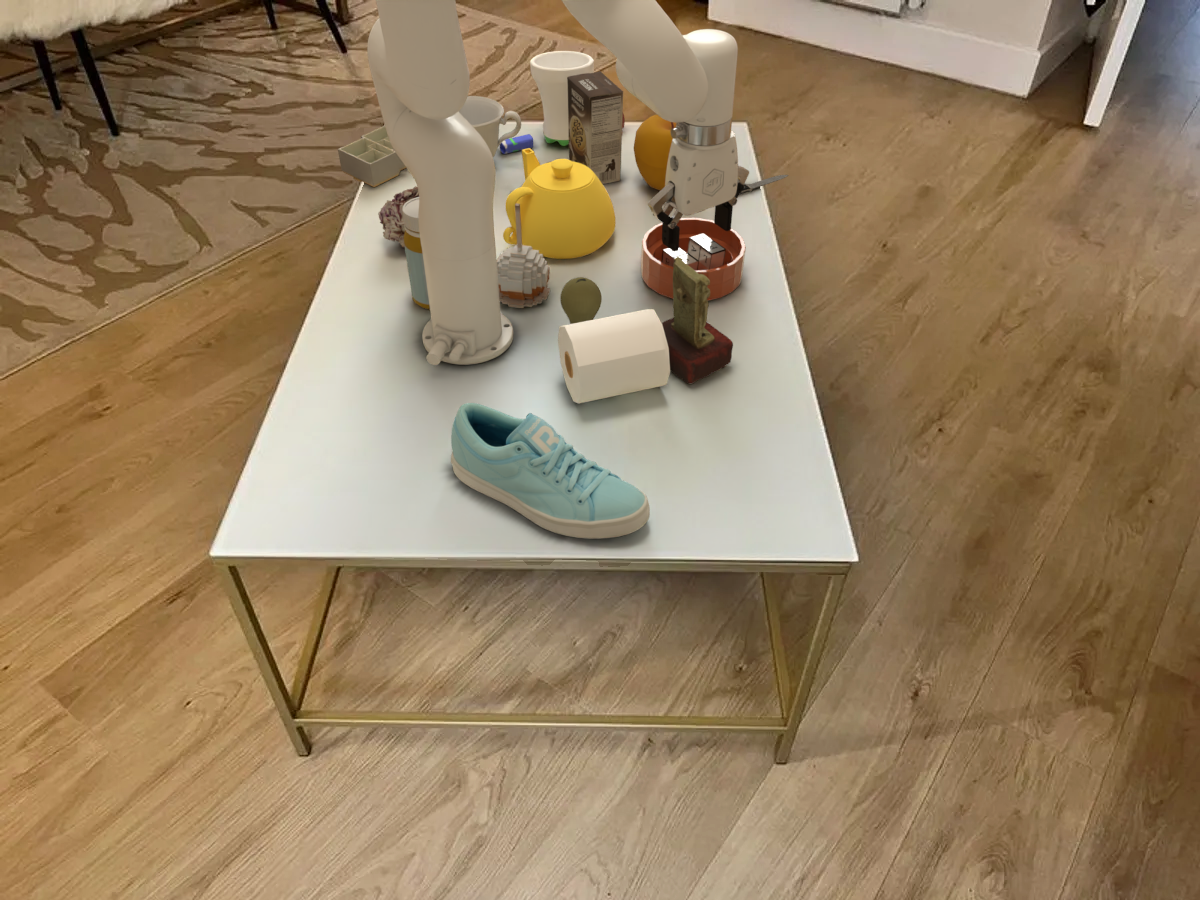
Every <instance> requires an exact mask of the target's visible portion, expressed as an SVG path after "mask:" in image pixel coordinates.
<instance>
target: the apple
mask: <svg viewBox="0 0 1200 900" xmlns="http://www.w3.org/2000/svg"><path fill="white" fill-rule="evenodd" d="M675 127H676V123H675V122H670V121H667V120H664V119H663V118H661V117H660V116H658V115H657V114H653V115H651V116H649V117H648V118H647V119H645V120H644V121H642V123H641V124H640V125H639V127H638V128H637V130H636V131H635V136H634V141H633V153H634V159H635V160H634V161H635V164H636V167H637V170H638V172H639V174H640V175H641V176H642V179H643V180H644V182H645V183H646V184H647V185H648V186H649V187H650V188H651V189H655V190H658V191H661V190H662V189H663V188H664V187H665V179H666V169H667V163H668V157H669V152H670V147H671V144H672V140H673V138H672V137H671V133H670V132H671V129H673V128H675Z"/></svg>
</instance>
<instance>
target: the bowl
mask: <svg viewBox="0 0 1200 900" xmlns="http://www.w3.org/2000/svg"><path fill="white" fill-rule="evenodd" d="M677 226H679V228H680V233H679V247H680V248H681V249H682V250H684V251H685V252H686V253H687V252H688V245H689V237H692V236H696V235H699V234H703V233H704V234H705V235H707V236H708V237H709V238H711V239H712V240H714V241H715V242H717V243H718V244H719V245H721V246H722V247H724V248H725V249H726V252H725V258H724V265H722V266H719V267H716V268H713V269H710V270H695V271H696V272H697V273H699V274H703V275H705V276H706V277H707V278H708V279H709V280H710V285H707V288H709V289H710V296H709V297H708V298H707V301H708V302H709V301H712V300H717V299H721V298H723V297H725V296H727V295H729V294H732V293H733V292H734V291H735V290H736V289H737V288H738V287H739V286H740V285H741V281H742V278H743V273H744V266H745V265H744V264H745V257H746V250H747V248H746V247H747V246H746V243H745V240H744V238H743V237H742V236H741V234H740V233H739V232H738V231H737V230H735V229H733V228H732V227H731V230H729V231H725V230H723V229H722V228H721V227H719V226H718V225H716V224H715V223H714V219H706V218H700V217H681V219H680V220H679V222H678V224H677ZM666 248H668V247H667V246H666V245H664V244H663V242H662V222H660V223H657V224H656V225H653V226H652V227H651V228H650V229H648V230H647V231H646V232H645V233H644V235H643V238H642V240H641V257H640V259H641V260H640V272H641V278H642V280H643V281H644V283H645V284H646V285H647V287H648V288H650V289H651V290H652V291H654V292H656V293H658V295H661V296H664V297H667V298H670V299H672V300H673V268H674V267H672V266H669V265H666V264H663V263H662V262H661V260H662V251H663V249H666Z"/></svg>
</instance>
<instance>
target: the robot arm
mask: <svg viewBox="0 0 1200 900" xmlns="http://www.w3.org/2000/svg"><path fill="white" fill-rule="evenodd" d="M561 2H562V4H563V5H564V7H565V8H566V9H567V10H568V12H569V13H570V14H571V16H573V18H574V19H575V20H576V21H577V22H578V23H579V24H580V26H582V28H583V29H584V30H586V31H587V32H588V34H590V35H591V36H592V37H593V38H594V39H595V40H597V41H598V42H599V43H600V44H602V45H603V46H604V47H605V48H606V49H607V50H609V52H610V53H611V54H612V55H613V56H614V57H615V58H616V60H615V73H616V76H617V79H618V81H619V83H620V84H621V85H622V87H623V88H624V89H625V90H626V91H627V92H629V94H631V95H632V96H633V97H634V98H636V99H637V100H639V102H641V103H643V104H644V105H645V106H646V107H647V108H649V109H650V110H651V111H652V112H654V113H655V115H658V116H660V117H661V118H663V119H664V120H667V121H670V122H675V123H676V127H675V128H673V129H671V132H670V133H671V137H672V138H673V140H672V144H671V147H670V152H669V157H668V163H667V169H666V179H665V187H664V188H663V189H662V190H659V192H657V193H656V194H655V195H654V196H653V197H652V198H651V199H649V201H648V202H647V206H648V208H649V209H650V211H651V213H652V216H653V217H654V218H656V219H657V220H658V221H660V223H662V242H663V244H664V245H666V246H667V247H668V248H670V249H671V250H672V251H674V252H675V251H678V249H679V233H680V228H679V226H677V224H678V222H679V220H680V219H681V218H683V216H691V215H695V214H698V213H701V212H703V211H706V210H708V209H709V210H710V209H712V208H714V216H713V217H714V218H713V221H714V223H715V224H716V225H718V226H719V227H721V228H722V229H723V230H725V231H729V230H731V228H732V219H733V210H734V209H733V208H734V206H736V205H737V203H738V197H739V196H740V194H742V193H741V191H742V190H743V188H744V185H743V184H746V182H747V179H748V178H749V175H750V170H748V169H746V168H745V167H744V166H741V165H739V155H738V153H739V152H738V144H737V137H736V133H735V132H734V131H733V130H732V124H733V114H734V113H733V112H734V100H735V88H736V76H737V67H738V66H737V65H738V51H739V47H738V43H737V40H736V38H735V37H734V36H733V35H732V34H730V33H729V32H728V31H727V32H726V31H724V30H720V29H715V28H704V29H703V28H702V29H697V30H693V31H691V32H689V33H686V34H682V33H681V31H680V29H678V27H677V26H676V25H675V23H674V22H673V20H672V19H671V18H670V16H669V15H668V14H667V13H666V12H665V11H664V9H663V8H662V6H661V5H660V4H659V3H658V2H657V0H561ZM375 3H376V8H377V14H378V18H377V19H376V21H375V22H374V23H373V25H372V28H371V29H370V32H369V34H368V38H367V48H366V50H367V51H366V52H367V61H368V67H369V71H370V75H371V78H372V79H371V80H372V83H373V87H374V90H375V95H376V98H377V101H378V106H379V109H380V113H381V117H382V120H383V121H382V122H383V124H384V126H385V128H386V131H387V134H388V137H389V140H390V143H391V145H392V147H393V149H394V151H395V152H396V154H397V155H398V157H399V158H400V159H401V161H402V162H403V163H404V165H405V166H406V167H407V168H406V169H407V171H408V172H409V174H410V175H411V177H412V179H414V182H415V184H416V187H418V192H419V213H418V220H419V232H420V240H421V246H422V253H423V260H424V268H425V275H426V283H427V290H428V298H429V305H430V310H429V312H430V320H429V321H427V322H426V324H425V326H424V327H423V329H422V336H421V337H422V343H423V347H424V348H425V350H426V352H427V355H426V357H425V358H426V361H427V362H428V364H429V365H432V366H439V364H440V363H441V362H444V363H447V364H453V365H461V366H462V365H463V366H464V365H465V366H467V365H477V364H482V363H485V362H489V361H491V360H493V359H496V358H498V357H499V356H501V355H502V354H503V353H504V352H506V351H507V350H508V349H509V348H510V346H511V344H512V342H513V340H514V327H513V324H512V322H511V321H510V319H509V318H508V317H507V316H506V315H505V314H503V313H502V312H501V301H500V299H499V286H498V273H497V259H498V258H497V247H496V246H497V245H496V237H495V223H494V196H495V187H496V165H495V161H494V157H492V154H491V152H490V149H489V148H488V146H487V144H486V142H485V141H484V139H483V138H482V137H481V135H480V134H479V133H478V132H477V131H476V130H475V129H474V128H473V126H472V125H471V124H470V123H469V122H468V121H467V120H466V119H465V118H464V117H463V116H462V115H461V114H460V113H459V112H458V111H459V110H460V109H461V108H462V107H463V105H464V103H465V101H466V99H467V96H469V92H470V87H471V78H470V75H471V74H470V68H469V64H468V58H467V53H466V51H465V46H464V41H463V40H464V39H463V36H462V31H461V25H460V19H459V15H458V10H457V3H456V0H375ZM664 205H665V206H664ZM663 207H664V208H663ZM673 210H675V211H674V212H673ZM672 212H673V214H672V216H671V213H672Z"/></svg>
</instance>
